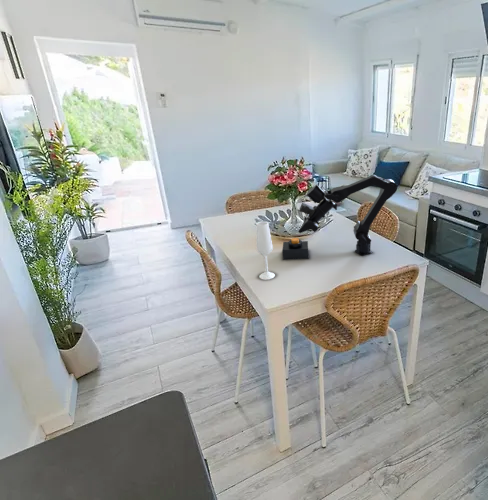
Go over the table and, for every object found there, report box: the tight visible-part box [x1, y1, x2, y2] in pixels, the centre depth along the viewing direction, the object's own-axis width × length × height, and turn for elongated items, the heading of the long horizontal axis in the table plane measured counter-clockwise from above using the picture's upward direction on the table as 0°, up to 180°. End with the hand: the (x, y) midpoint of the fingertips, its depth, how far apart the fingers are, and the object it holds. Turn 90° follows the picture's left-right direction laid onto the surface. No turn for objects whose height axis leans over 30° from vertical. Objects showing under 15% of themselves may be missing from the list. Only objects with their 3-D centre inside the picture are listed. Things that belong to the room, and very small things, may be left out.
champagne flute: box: [255, 220, 276, 280], centre depth 145 cm, size 7×7×24 cm
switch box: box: [281, 239, 310, 261], centre depth 169 cm, size 12×10×7 cm
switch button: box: [290, 237, 300, 244], centre depth 167 cm, size 4×4×2 cm
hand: (299, 232), depth 166 cm, fingers closed
